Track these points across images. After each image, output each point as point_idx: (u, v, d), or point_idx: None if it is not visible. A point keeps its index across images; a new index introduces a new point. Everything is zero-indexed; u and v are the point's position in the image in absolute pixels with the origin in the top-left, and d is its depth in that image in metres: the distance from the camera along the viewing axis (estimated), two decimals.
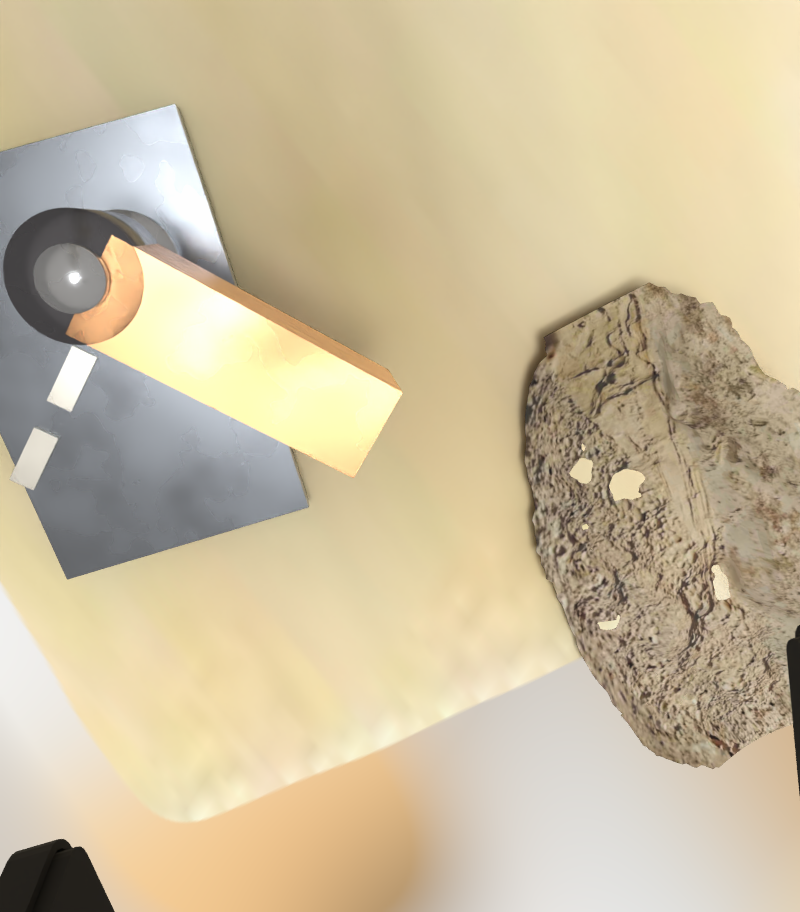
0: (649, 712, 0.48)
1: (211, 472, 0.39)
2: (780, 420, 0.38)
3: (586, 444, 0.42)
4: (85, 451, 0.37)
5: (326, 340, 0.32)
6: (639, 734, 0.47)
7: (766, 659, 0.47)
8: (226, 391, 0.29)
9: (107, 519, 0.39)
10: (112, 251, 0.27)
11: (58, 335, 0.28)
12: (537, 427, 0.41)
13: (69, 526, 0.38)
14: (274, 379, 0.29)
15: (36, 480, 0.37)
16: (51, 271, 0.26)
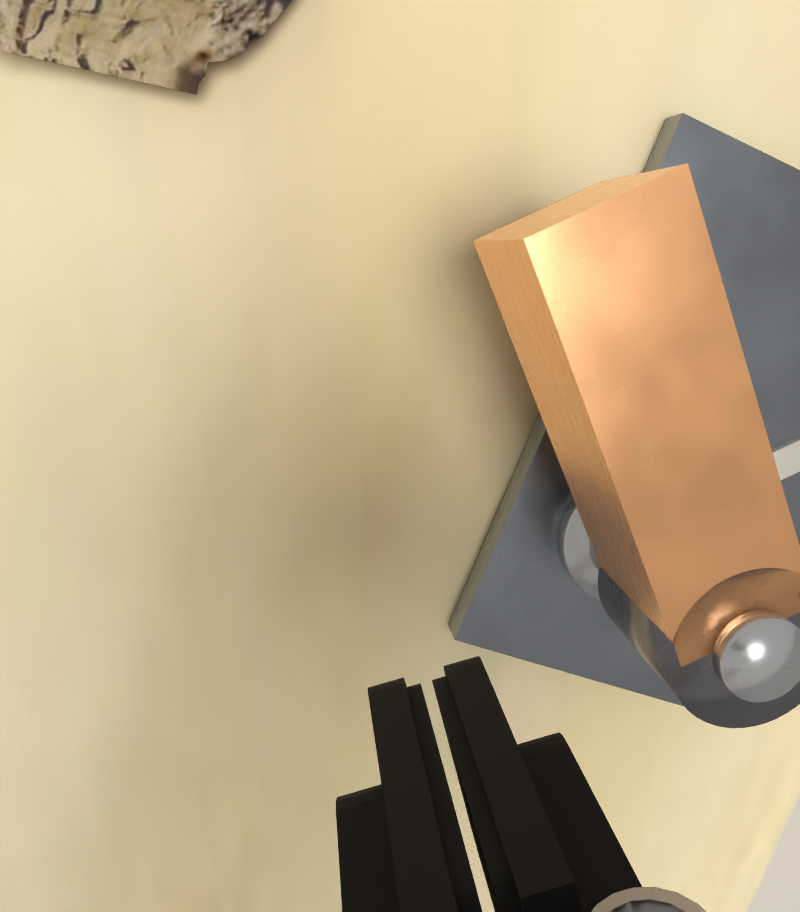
0: None
1: (741, 257, 0.26)
2: None
3: None
4: None
5: (530, 352, 0.21)
6: None
7: None
8: (727, 419, 0.18)
9: None
10: (695, 651, 0.20)
11: None
12: None
13: None
14: (663, 389, 0.18)
15: None
16: (775, 679, 0.20)
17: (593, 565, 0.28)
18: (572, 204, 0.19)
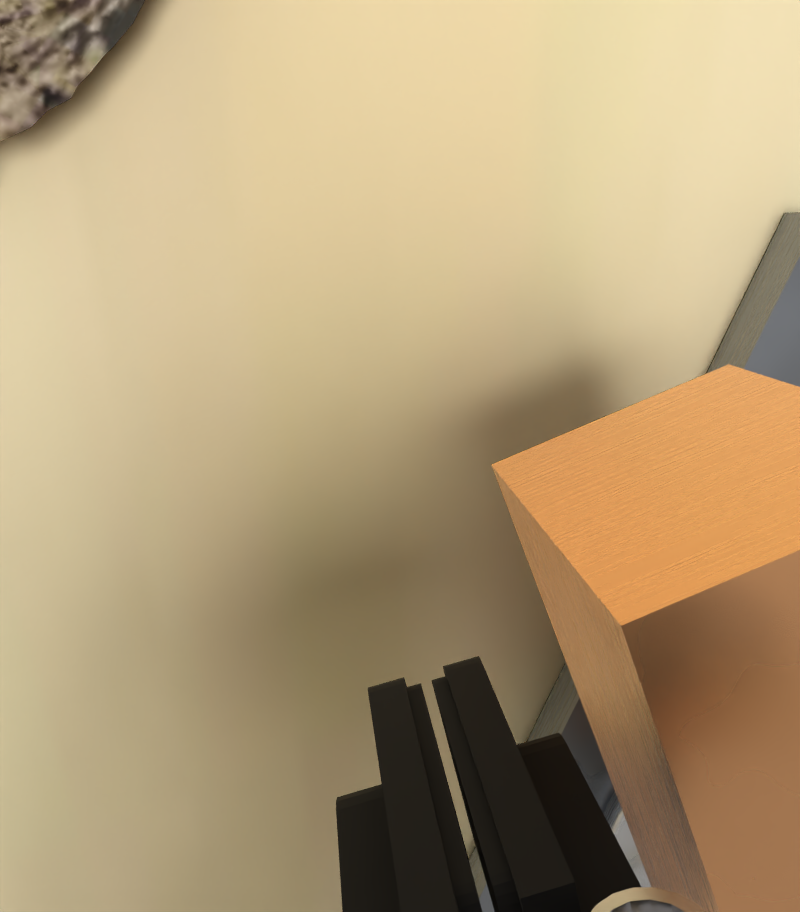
0: None
1: None
2: None
3: None
4: None
5: (590, 689, 0.11)
6: None
7: None
8: None
9: None
10: None
11: None
12: None
13: None
14: None
15: None
16: None
17: None
18: (701, 459, 0.09)
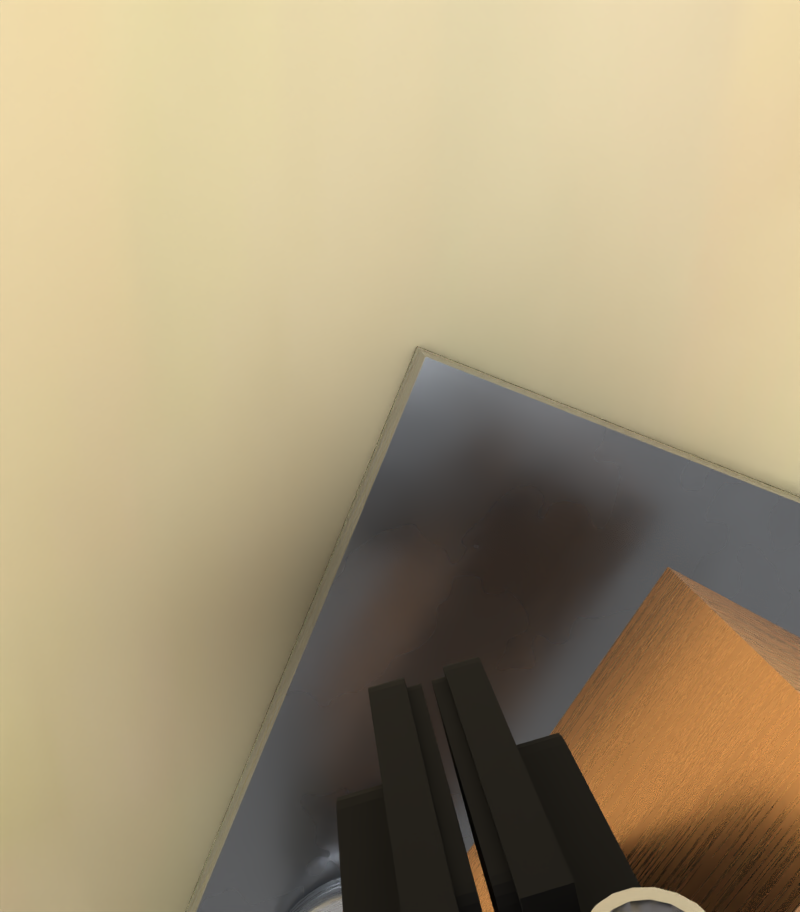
0: None
1: (543, 571, 0.16)
2: None
3: None
4: None
5: (593, 792, 0.11)
6: None
7: None
8: None
9: (782, 615, 0.17)
10: None
11: None
12: None
13: None
14: None
15: None
16: None
17: None
18: None
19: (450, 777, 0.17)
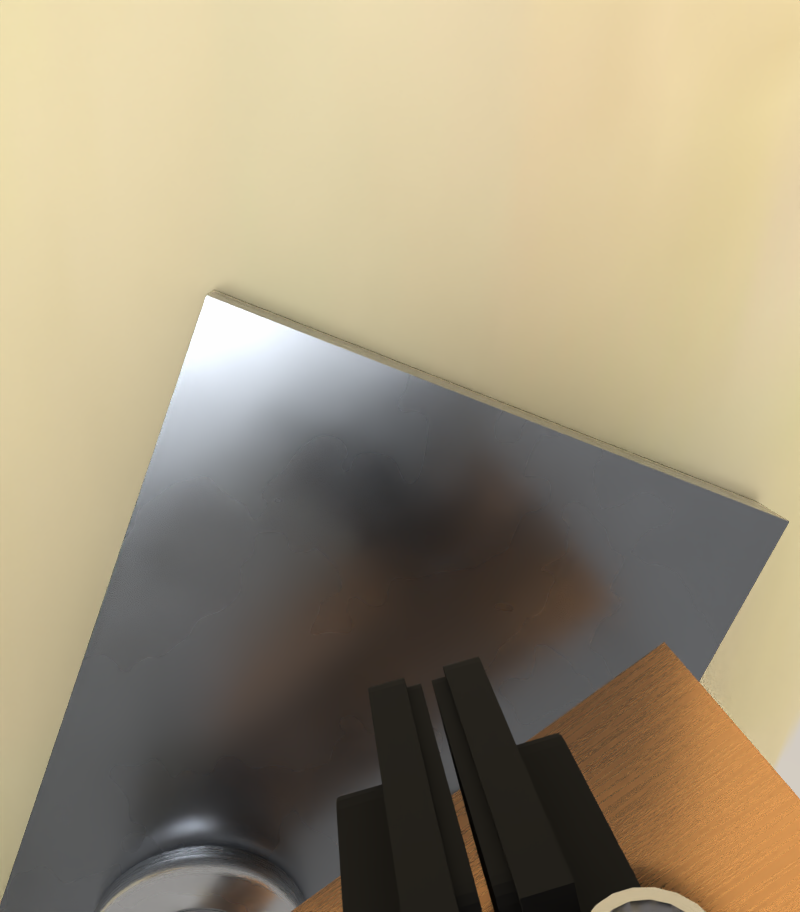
0: None
1: (353, 527, 0.15)
2: None
3: None
4: (531, 713, 0.17)
5: None
6: None
7: None
8: None
9: (616, 577, 0.16)
10: None
11: None
12: None
13: (685, 610, 0.17)
14: None
15: None
16: None
17: None
18: None
19: (270, 748, 0.17)
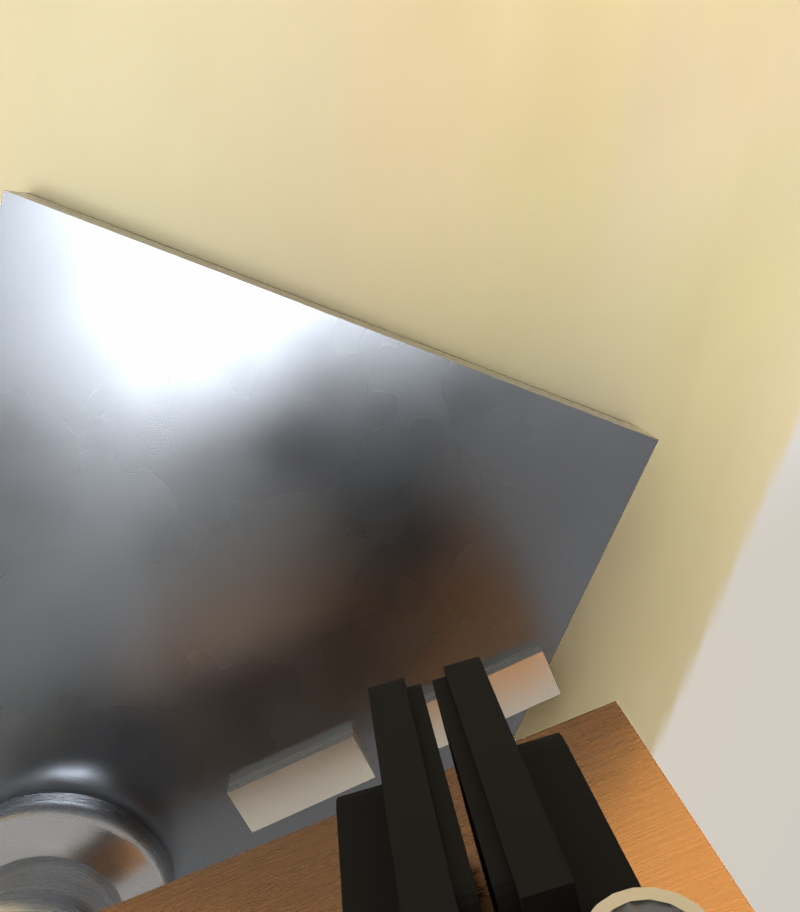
0: None
1: (185, 446, 0.14)
2: None
3: None
4: (395, 649, 0.16)
5: None
6: None
7: None
8: None
9: (475, 501, 0.15)
10: None
11: None
12: None
13: (552, 536, 0.16)
14: None
15: (521, 661, 0.16)
16: None
17: None
18: None
19: (115, 686, 0.16)
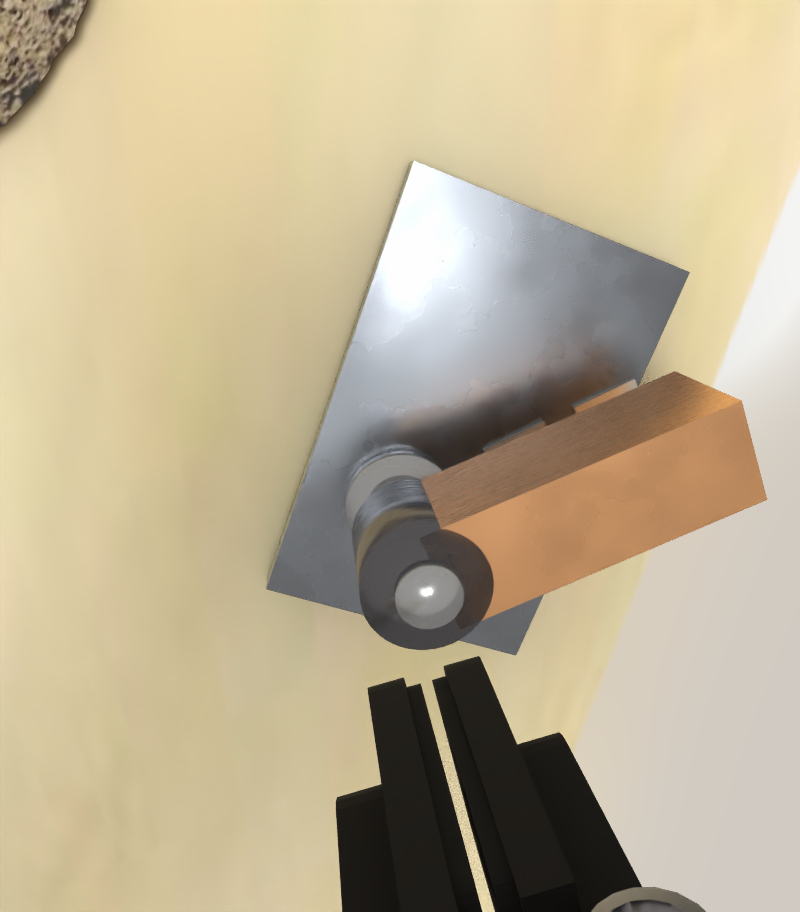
0: None
1: (477, 275, 0.32)
2: None
3: None
4: (564, 378, 0.34)
5: (616, 413, 0.29)
6: None
7: None
8: (606, 545, 0.27)
9: (604, 302, 0.33)
10: (431, 547, 0.26)
11: (456, 635, 0.28)
12: (30, 60, 0.28)
13: (639, 321, 0.34)
14: (632, 500, 0.27)
15: (624, 384, 0.34)
16: (413, 607, 0.26)
17: None
18: None
19: (436, 395, 0.34)
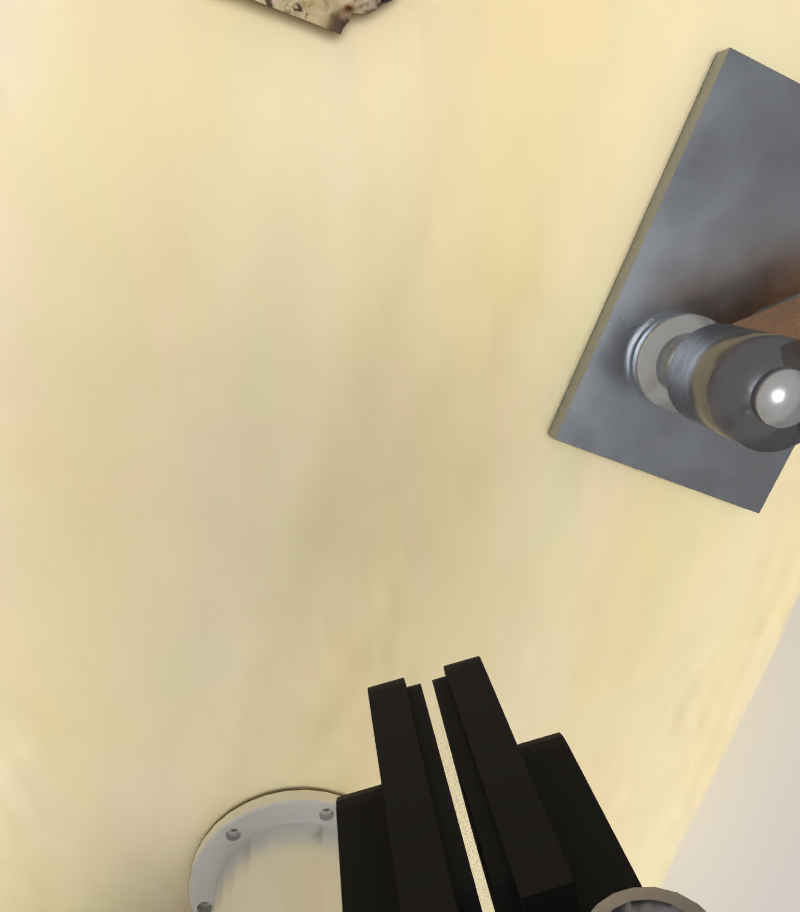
0: None
1: (769, 153, 0.37)
2: None
3: None
4: None
5: None
6: None
7: None
8: None
9: None
10: (788, 355, 0.31)
11: (794, 440, 0.32)
12: None
13: None
14: None
15: None
16: (772, 406, 0.31)
17: (658, 381, 0.39)
18: None
19: (721, 262, 0.38)
